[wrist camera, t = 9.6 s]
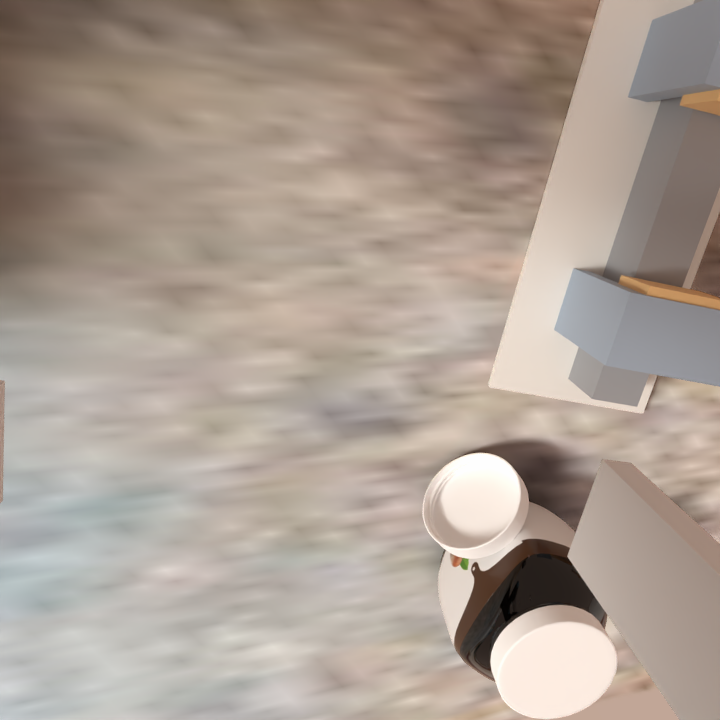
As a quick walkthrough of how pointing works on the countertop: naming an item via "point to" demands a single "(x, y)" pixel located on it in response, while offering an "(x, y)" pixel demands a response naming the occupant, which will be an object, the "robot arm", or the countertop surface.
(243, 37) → the countertop surface
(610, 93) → the rail board
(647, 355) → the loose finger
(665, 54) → the fitted finger
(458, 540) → the spread jar
